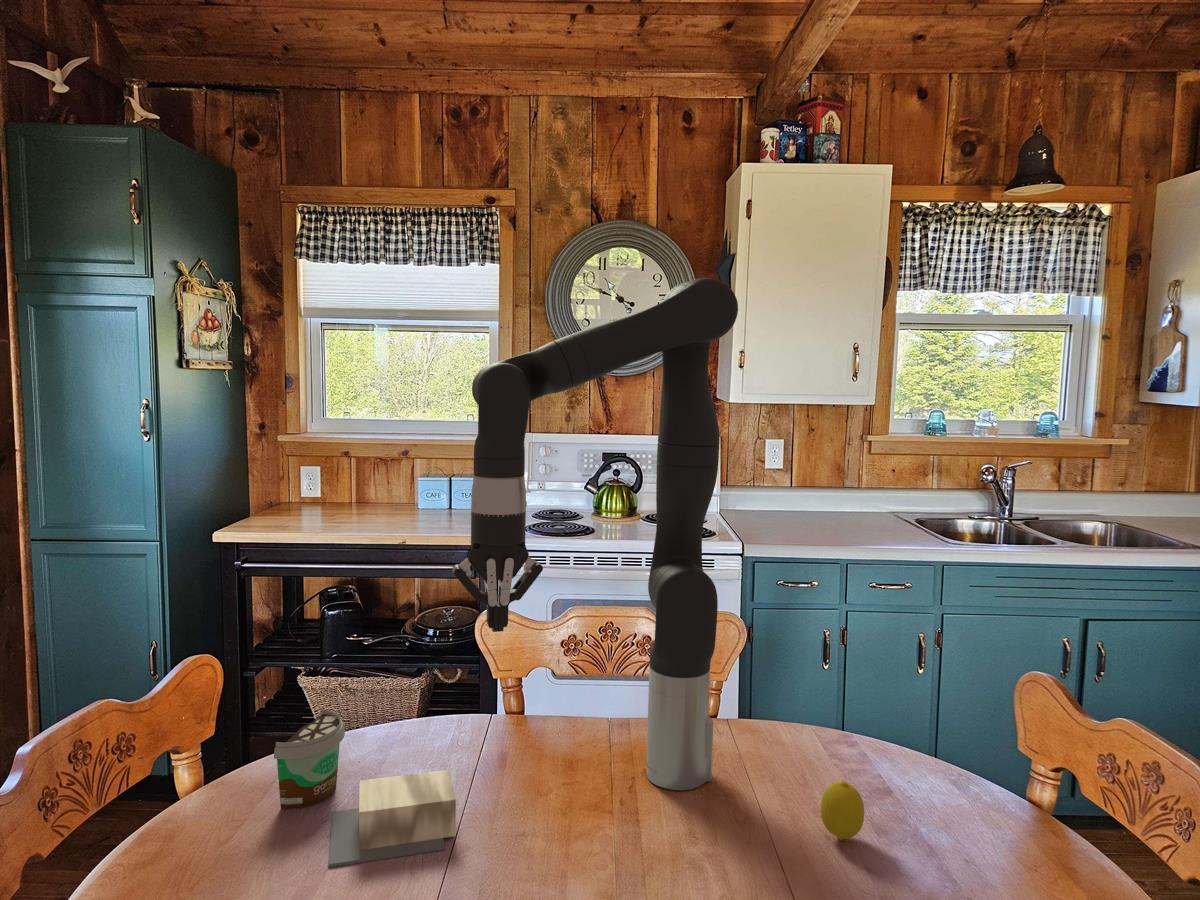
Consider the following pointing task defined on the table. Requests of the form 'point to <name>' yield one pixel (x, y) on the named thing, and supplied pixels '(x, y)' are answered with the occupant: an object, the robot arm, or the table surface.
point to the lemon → (842, 810)
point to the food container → (310, 762)
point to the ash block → (406, 809)
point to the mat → (348, 852)
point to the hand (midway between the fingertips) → (496, 629)
